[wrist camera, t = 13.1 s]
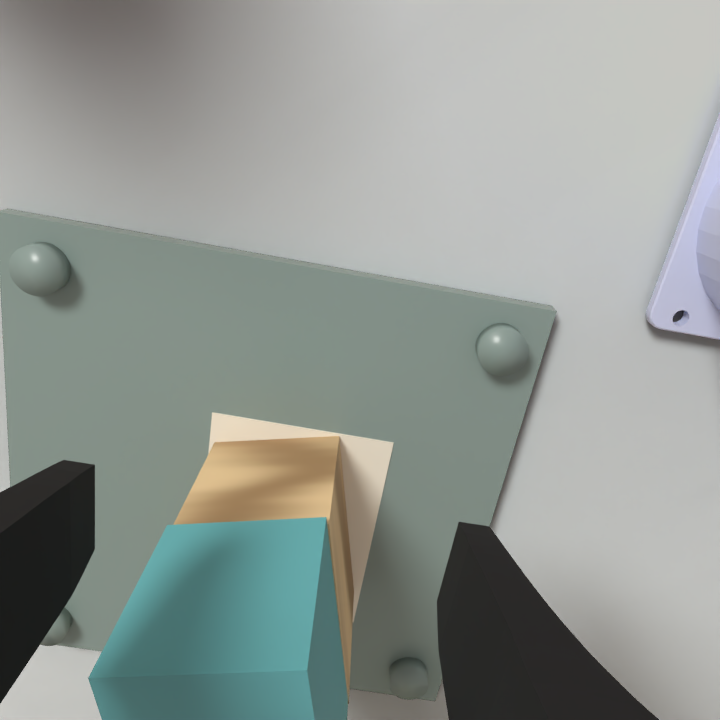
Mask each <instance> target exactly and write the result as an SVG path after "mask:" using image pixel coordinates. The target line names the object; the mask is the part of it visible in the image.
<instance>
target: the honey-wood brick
mask: <svg viewBox="0 0 720 720" xmlns="http://www.w3.org/2000/svg"><path fill="white" fill-rule="evenodd" d="M317 517H326V518H327V527H328V535H329V543H330V552H331V560H332V569H333V577H334V586H335V594H336V602H337V611H338V619H339V628H340V636H341V644H342V653H343V661H344V670H345V678H346V686H347V695H348V704H349V686H350V665H351V644H352V623H353V602H354V585H353V575H352V564H351V554H350V543H349V533H348V522H347V512H346V501H345V491H344V480H343V470H342V459H341V449H340V438H339V436H328V437H308V438H288V439H269V440H249V441H229V442H214V444H213V446H212V448H211V450H210V452H209V454H208V456H207V458H206V460H205V462H204V464H203V466H202V468H201V470H200V472H199V474H198V476H197V478H196V480H195V482H194V484H193V486H192V488H191V490H190V492H189V494H188V496H187V498H186V500H185V502H184V504H183V506H182V508H181V510H180V512H179V514H178V516H177V518H176V520H175V522H174V524H173V525H177V524H197V523H217V522H237V521H257V520H277V519H297V518H317Z"/></svg>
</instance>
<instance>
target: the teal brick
mask: <svg viewBox="0 0 720 720" xmlns="http://www.w3.org/2000/svg"><path fill="white" fill-rule="evenodd" d="M88 679H89V682H90V685H91V688H92V691H93V694H94V697H95V700H96V703H97V706H98V709H99V712H100V715H101V718H102V720H347V708H348V695H347V686H346V678H345V670H344V661H343V653H342V644H341V636H340V628H339V619H338V611H337V602H336V594H335V586H334V577H333V569H332V560H331V552H330V543H329V535H328V527H327V518H326V517H317V518H297V519H277V520H257V521H237V522H217V523H197V524H177V525H167V526H166V528H165V530H164V532H163V534H162V536H161V538H160V540H159V542H158V544H157V546H156V548H155V550H154V552H153V554H152V555H151V557H150V559H149V561H148V563H147V565H146V567H145V569H144V571H143V573H142V575H141V577H140V579H139V581H138V583H137V585H136V587H135V589H134V590H133V592H132V594H131V596H130V598H129V600H128V602H127V604H126V606H125V608H124V610H123V612H122V614H121V616H120V618H119V620H118V622H117V624H116V625H115V627H114V629H113V631H112V633H111V635H110V637H109V639H108V641H107V643H106V645H105V647H104V649H103V651H102V653H101V655H100V657H99V659H98V661H97V662H96V664H95V666H94V668H93V670H92V672H91V674H90V676H89V678H88Z"/></svg>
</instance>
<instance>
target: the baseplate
mask: <svg viewBox="0 0 720 720" xmlns="http://www.w3.org/2000/svg"><path fill="white" fill-rule="evenodd" d="M0 288H1V308H2V328H3V348H4V368H5V389H6V409H7V429H8V449H9V469H10V487H12V486H14V485H15V484H17V483H19V482H21V481H23V480H25V479H27V478H29V477H30V476H32V475H34V474H36V473H38V472H40V471H42V470H44V469H46V468H48V467H50V466H52V465H54V464H56V463H58V462H60V461H62V460H68V461H75V462H81V463H87V464H94V465H95V550H94V552H93V554H92V556H91V558H90V560H89V563H88V565H87V567H86V569H85V571H84V573H83V575H82V577H81V579H80V581H79V583H78V585H77V587H76V589H75V591H74V593H73V594H72V596H71V598H70V600H69V601H68V603H67V604H66V606H65V607H64V609H63V610H62V612H61V613H60V615H59V616H58V618H57V619H56V621H55V622H54V624H53V625H52V627H51V629H50V630H49V632H48V633H47V635H46V636H45V638H44V639H43V641H42V642H41V645H45V646H53V645H62V646H68V647H75V648H82V649H88V650H95V651H103V649H104V647H105V645H106V643H107V641H108V639H109V637H110V635H111V633H112V631H113V629H114V627H115V625H116V624H117V622H118V620H119V618H120V616H121V614H122V612H123V610H124V608H125V606H126V604H127V602H128V600H129V598H130V596H131V594H132V592H133V590H134V589H135V587H136V585H137V583H138V581H139V579H140V577H141V575H142V573H143V571H144V569H145V567H146V565H147V563H148V561H149V559H150V557H151V555H152V554H153V552H154V550H155V548H156V546H157V544H158V542H159V540H160V538H161V536H162V534H163V532H164V530H165V528H166V526H167V525H173V524H174V522H175V520H176V518H177V516H178V514H179V512H180V510H181V508H182V506H183V504H184V502H185V500H186V498H187V496H188V494H189V492H190V490H191V488H192V486H193V484H194V482H195V480H196V478H197V476H198V474H199V472H200V470H201V468H202V466H203V464H204V462H205V460H206V458H207V456H208V454H209V452H210V450H211V448H212V446H213V444H214V442H229V441H249V440H269V439H288V438H308V437H328V436H339V438H340V449H341V459H342V470H343V480H344V491H345V501H346V512H347V522H348V533H349V543H350V554H351V564H352V575H353V585H354V602H353V623H352V644H351V665H350V686H349V689H356V690H363V691H369V692H376V693H383V694H390V695H396V696H397V697H399V698H402V699H407V700H411V699H423V700H430V701H435V700H436V697H437V694H438V691H439V687H440V684H441V681H442V671H441V665H440V658H439V651H438V628H437V598H438V595H439V591H440V588H441V584H442V580H443V577H444V573H445V569H446V566H447V562H448V559H449V555H450V551H451V548H452V544H453V541H454V537H455V533H456V530H457V526H458V522H465V523H471V524H478V525H484V526H489V527H490V524H491V520H492V517H493V514H494V511H495V507H496V504H497V501H498V498H499V495H500V491H501V488H502V485H503V482H504V479H505V475H506V472H507V469H508V466H509V463H510V459H511V456H512V453H513V450H514V446H515V443H516V440H517V437H518V434H519V430H520V427H521V424H522V421H523V418H524V414H525V411H526V408H527V405H528V402H529V398H530V395H531V392H532V389H533V385H534V382H535V379H536V376H537V373H538V369H539V366H540V363H541V360H542V357H543V353H544V350H545V347H546V344H547V340H548V337H549V334H550V331H551V328H552V324H553V321H554V318H555V315H556V312H557V311H556V310H555V309H554V308H553V307H552V306H549V305H544V304H538V303H533V302H527V301H521V300H516V299H510V298H505V297H499V296H493V295H488V294H482V293H477V292H471V291H465V290H460V289H454V288H449V287H443V286H437V285H432V284H426V283H420V282H415V281H409V280H404V279H398V278H392V277H387V276H381V275H376V274H370V273H364V272H359V271H353V270H348V269H342V268H336V267H331V266H325V265H320V264H314V263H308V262H303V261H297V260H292V259H286V258H280V257H275V256H269V255H264V254H258V253H252V252H247V251H241V250H236V249H230V248H224V247H219V246H213V245H208V244H202V243H196V242H191V241H185V240H180V239H174V238H168V237H163V236H157V235H152V234H146V233H140V232H135V231H129V230H124V229H118V228H112V227H107V226H101V225H96V224H90V223H84V222H79V221H73V220H68V219H62V218H56V217H51V216H45V215H40V214H34V213H28V212H23V211H17V210H12V209H5V210H1V211H0Z"/></svg>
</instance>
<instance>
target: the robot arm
mask: <svg viewBox="0 0 720 720" xmlns="http://www.w3.org/2000/svg"><path fill="white" fill-rule="evenodd" d="M680 310H683V311H684V313H683V317H682V318H681V319H680V320H679V321H677V322H673V316H674V314H675V313H676V312H678V311H680ZM646 318H647V321H648V322H649V323H650V324H651V325H652V326H654V327H655V328H658V329H661V330H667V331H672V332H678V333H684V334H689V335H695V336H700V337H706V338H712V339H717V340H720V113H719V115H718V118H717V121H716V123H715V126H714V129H713V132H712V134H711V137H710V140H709V142H708V145H707V148H706V150H705V153H704V156H703V159H702V161H701V164H700V167H699V169H698V172H697V175H696V178H695V180H694V183H693V186H692V188H691V191H690V194H689V196H688V199H687V202H686V205H685V207H684V210H683V213H682V215H681V218H680V221H679V224H678V226H677V229H676V232H675V234H674V237H673V240H672V242H671V245H670V248H669V251H668V253H667V256H666V259H665V261H664V264H663V267H662V270H661V272H660V275H659V278H658V280H657V283H656V286H655V288H654V291H653V294H652V297H651V299H650V302H649V305H648V307H647V311H646ZM94 550H95V465H94V464H87V463H81V462H75V461H68V460H62V461H60V462H58V463H56V464H54V465H52V466H50V467H48V468H46V469H44V470H42V471H40V472H38V473H36V474H34V475H32V476H30V477H29V478H27V479H25V480H23V481H21V482H19V483H17V484H15V485H14V486H12V487H10V488H8V489H6V490H4V491H2V492H0V703H1V702H2V700H3V699H4V697H5V696H6V694H7V693H8V691H9V690H10V688H11V687H12V685H13V684H14V682H15V681H16V679H17V678H18V676H19V675H20V673H21V672H22V670H23V669H24V667H25V666H26V664H27V663H28V661H29V660H30V658H31V657H32V655H33V654H34V652H35V651H36V649H37V648H38V647H39V645H40V644H41V642H42V641H43V639H44V638H45V636H46V635H47V633H48V632H49V630H50V629H51V627H52V625H53V624H54V622H55V621H56V619H57V618H58V616H59V615H60V613H61V612H62V610H63V609H64V607H65V606H66V604H67V603H68V601H69V600H70V598H71V596H72V594H73V593H74V591H75V589H76V587H77V585H78V583H79V581H80V579H81V577H82V575H83V573H84V571H85V569H86V567H87V565H88V563H89V560H90V558H91V556H92V554H93V552H94ZM437 628H438V651H439V658H440V665H441V671H442V678H443V684H444V691H445V697H446V703H447V710H448V716H449V720H659V719H658V718H656V717H655V716H654V715H653V714H652V713H651V712H650V711H648V710H647V709H646V708H645V707H644V706H643V705H642V704H641V703H640V702H639V701H637V700H636V699H635V698H634V697H633V696H632V695H631V694H630V693H629V692H628V691H627V690H626V689H625V688H624V687H623V686H622V685H621V684H620V683H619V682H618V681H617V680H616V679H615V678H614V677H613V676H612V675H611V674H610V673H609V672H608V671H607V670H606V669H605V668H604V667H603V666H602V665H601V664H600V663H599V662H598V661H597V660H596V659H595V658H594V657H593V656H592V655H591V654H590V653H589V652H588V651H587V650H586V649H585V647H584V646H583V645H582V644H581V643H580V642H579V641H578V639H577V638H576V637H575V636H574V635H573V634H572V633H571V632H570V630H569V629H568V628H567V627H566V626H565V625H564V624H563V622H562V621H561V620H560V619H559V618H558V616H557V615H556V614H555V613H554V612H553V610H552V609H551V608H550V607H549V606H548V604H547V603H546V602H545V601H544V599H543V598H542V597H541V595H540V594H539V593H538V592H537V590H536V589H535V588H534V586H533V585H532V584H531V583H530V581H529V580H528V579H527V577H526V576H525V575H524V573H523V572H522V571H521V569H520V568H519V567H518V565H517V564H516V562H515V561H514V560H513V558H512V557H511V556H510V554H509V553H508V552H507V550H506V549H505V547H504V546H503V545H502V543H501V542H500V540H499V539H498V538H497V536H496V535H495V534H494V532H493V531H492V530H491V528H490V527H489V526H484V525H478V524H471V523H465V522H458V526H457V530H456V533H455V537H454V541H453V544H452V548H451V551H450V555H449V559H448V562H447V566H446V569H445V573H444V577H443V580H442V584H441V588H440V591H439V595H438V598H437Z"/></svg>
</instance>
